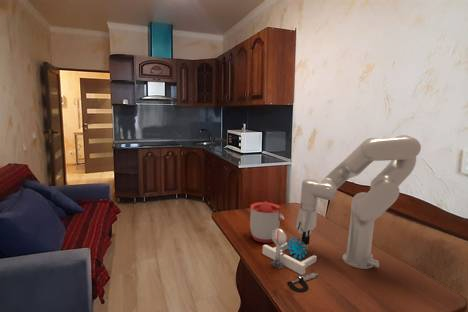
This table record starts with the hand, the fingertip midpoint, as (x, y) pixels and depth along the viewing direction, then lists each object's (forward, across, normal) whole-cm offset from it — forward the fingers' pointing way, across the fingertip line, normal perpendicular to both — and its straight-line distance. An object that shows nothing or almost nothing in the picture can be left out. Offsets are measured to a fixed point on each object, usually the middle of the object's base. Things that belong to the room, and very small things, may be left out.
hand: (305, 243), depth 134 cm
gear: (+4, +6, 0) cm, 7 cm away
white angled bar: (+4, +11, 0) cm, 12 cm away
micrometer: (+5, +21, +16) cm, 27 cm away
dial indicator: (+4, +19, 0) cm, 19 cm away
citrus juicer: (+5, +5, -21) cm, 22 cm away
